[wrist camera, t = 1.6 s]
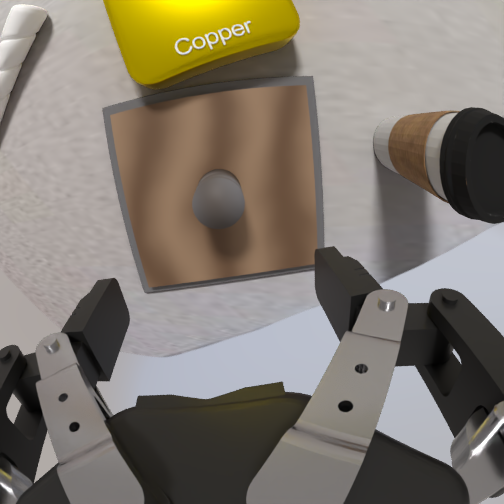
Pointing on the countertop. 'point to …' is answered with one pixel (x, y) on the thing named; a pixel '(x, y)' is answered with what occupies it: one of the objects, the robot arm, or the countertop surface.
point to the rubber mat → (206, 90)
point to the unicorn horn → (17, 45)
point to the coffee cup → (449, 157)
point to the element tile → (196, 35)
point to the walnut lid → (219, 183)
